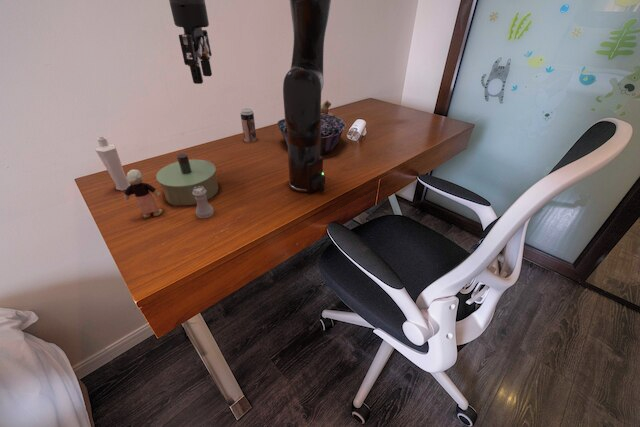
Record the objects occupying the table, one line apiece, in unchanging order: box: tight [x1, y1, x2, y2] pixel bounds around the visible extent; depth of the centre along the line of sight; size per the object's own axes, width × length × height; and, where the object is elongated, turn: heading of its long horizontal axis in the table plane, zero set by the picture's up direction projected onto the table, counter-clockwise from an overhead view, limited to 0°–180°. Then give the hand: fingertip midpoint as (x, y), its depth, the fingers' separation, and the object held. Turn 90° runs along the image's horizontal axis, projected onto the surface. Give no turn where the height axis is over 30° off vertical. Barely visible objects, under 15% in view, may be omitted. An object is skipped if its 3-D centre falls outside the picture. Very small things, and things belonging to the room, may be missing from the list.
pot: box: [160, 172, 220, 207], centre depth 79 cm, size 14×14×6 cm
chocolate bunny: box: [321, 99, 334, 115], centre depth 130 cm, size 6×8×10 cm
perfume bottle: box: [95, 136, 131, 192], centre depth 78 cm, size 5×4×15 cm
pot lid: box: [155, 153, 217, 188], centre depth 76 cm, size 15×15×6 cm
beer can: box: [239, 108, 257, 143], centre depth 108 cm, size 5×5×12 cm
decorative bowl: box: [276, 113, 347, 155], centre depth 109 cm, size 26×28×10 cm
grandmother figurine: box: [123, 169, 163, 219], centre depth 69 cm, size 8×4×13 cm, turn 118°
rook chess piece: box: [192, 186, 215, 219], centre depth 70 cm, size 4×4×8 cm
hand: (203, 79), depth 73 cm, fingers open, 8 cm apart
